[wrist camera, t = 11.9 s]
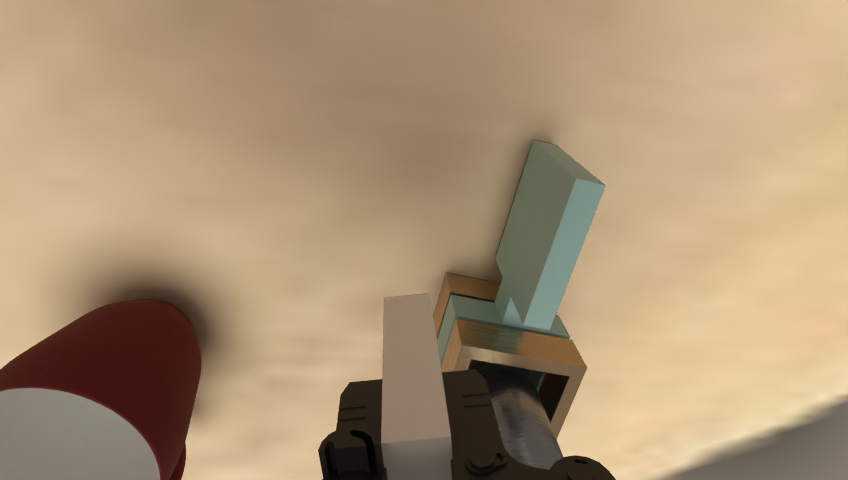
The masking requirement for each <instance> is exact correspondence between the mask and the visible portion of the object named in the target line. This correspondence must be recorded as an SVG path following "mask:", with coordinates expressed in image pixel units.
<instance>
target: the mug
mask: <svg viewBox="0 0 848 480" xmlns="http://www.w3.org/2000/svg"><path fill="white" fill-rule="evenodd" d="M200 374H201V354H200V349H199V345H198V341H197V338H196V335H195V333H194V330H193V327H192V325H191V323H190V321H189V319H188V318H187V317H186V315H185V314H184V313H183V312H182V311H180V310H179V309H178V308H176V307H175V306H173V305H171V304H169V303H166V302H163V301H159V300H153V299H145V300H132V301H124V302H118V303H113V304H109V305H105V306H103V307H100V308H97V309H95V310H93V311H91V312H89V313H87V314H85V315H83V316H82V317H80V318H79V319H77V320H75V321H74V322H72V323H70V324H69V325H67V326H65V327H64V328H62V329H61V330H59V331H57V332H56V333H54V334H52V335H51V336H49V337H47V338H46V339H44V340H43V341H41V342H39V343H38V344H36V345H34V346H33V347H31V348H30V349H28V350H27V351H25V352H23V353H22V354H20V355H19V356H17V357H16V358H14V359H13V360H12V361H10V362H9V363H8V364H7V365H5V366H4V367H3V368H2V369H0V480H181V478H182V475H183V472H184V467H185V460H186V444H185V440H186V437H187V433H188V428H189V424H190V419H191V415H192V410H193V406H194V402H195V397H196V393H197V388H198V384H199V379H200Z"/></svg>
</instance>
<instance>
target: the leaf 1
mask: <svg viewBox="0 0 848 480" xmlns="http://www.w3.org/2000/svg"><path fill="white" fill-rule="evenodd" d="M604 188H605V185H604V184H603V183H602V182H601V181H600V180H598V179H597V178H596V177H595V176H593V175H592V174H591V173H590V172H588V171H587V170H586V169H585V168H584V167H582V166H581V165H580V164H579V163H577V162H576V161H575V160H574V159H573V158H571V157H570V156H569V155H568V154H566V153H565V152H564V151H563V150H562V149H560V148H559V147H558V146H557V145H553V144H549V143H545V142H541V141H536V140H533V143H532V146H531V149H530V152H529V156H528V159H527V162H526V165H525V168H524V171H523V174H522V177H521V180H520V183H519V186H518V189H517V193H516V196H515V199H514V202H513V205H512V208H511V211H510V214H509V217H508V220H507V223H506V226H505V230H504V233H503V236H502V239H501V242H500V245H499V248H498V251H497V254H496V257H495V260H496V262H497V265H498V267H499V269H500V272H501V274H502V276H503V278H502V281H501V284H500V287H499V290H498V293H497V296H496V299H495V302H494V303H492V302H486V301H481V300H476V299H471V298H466V297H461V296H455V295H451V296H450V299H449V302H448V306H447V309H446V312H445V316H444V319H443V322H442V326H441V329H440V332H439V336H438V339H437V344H438V351H439V358H440V365H442V362H443V358H444V355H445V352H446V349H447V345H448V342H449V339H450V336H451V332H452V329H453V326H454V323H455V320H456V319H462V320H467V321H472V322H478V323H483V324H489V325H494V326H499V327H505V328H510V329H515V330H521V331H526V332H531V333H537V334H542V335H548V336H553V337H558V338H564V339H569V338H570V336H569V334H568V332H567V330H566V328H565V326H564V325H563V323H562V321H561V319H560V317H559V316H558V315H556V312H557V310H558V307H559V304H560V302H561V299H562V297H563V294H564V291H565V289H566V286H567V284H568V281H569V278H570V276H571V273H572V271H573V268H574V265H575V263H576V260H577V258H578V255H579V253H580V250H581V247H582V245H583V242H584V240H585V237H586V234H587V232H588V229H589V227H590V224H591V221H592V219H593V216H594V214H595V211H596V208H597V206H598V203H599V201H600V198H601V196H602V193H603V190H604ZM529 371H530V374H531V376H532V379H533V381H534V384H535V386H536V389H537V391H538V393H539V390H540V388H541V385H542V383H543V380H544V378H545V375H546V373H547V372H542V371H536V370H531V369H529Z"/></svg>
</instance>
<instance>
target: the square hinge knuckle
mask: <svg viewBox="0 0 848 480" xmlns="http://www.w3.org/2000/svg"><path fill="white" fill-rule="evenodd" d="M500 284H501V283H496V282H491V281H486V280H481V279H476V278H471V277H466V276H461V275H456V274H451V273H446V275H445V278H444V282H443V285H442V288H441V292H440V295H439V299H438V302H437V306H436V309H435V313H434V316H433V317H434V324H435V331H436V338H437V339H438V336H439V332H440V329H441V326H442V322H443V319H444V316H445V312H446V309H447V306H448V302H449V299H450V296H451V295H455V296H461V297H466V298H471V299H476V300H481V301H486V302H492V303H494V302H495V299H496V296H497V293H498V290H499V287H500ZM556 313H557V312H556ZM471 359H474V360H479V361H485V362H491V363H496V364H502V365H508V366H513V367H519V368H525V369H531V370H536V371H542V372H547V373H546V375H545V378H544V380H543V383H542V385H541V388H540V390H539V393H538V394H539V397H540V399H541V402H542V404H543V407H544V409H545V412H546V414H547V417H548V419H549V422H550V425H551V427H552V430H553V432H554V435H555V437H556V439H557V437H558V435H559V432H560V430H561V428H562V425H563V423H564V421H565V418H566V416H567V414H568V411H569V409H570V407H571V404H572V402H573V400H574V397H575V395H576V393H577V390H578V388H579V386H580V383H581V381H582V379H583V376H584V374H585V372H586V369H587V366H586V365H585V363H584V361H583V359H582V357H581V356H580V354H579V352H578V350H577V348H576V346H575V345H574V343H573V341H572V340H569V339H564V338H558V337H553V336H548V335H542V334H537V333H531V332H526V331H521V330H515V329H510V328H505V327H499V326H494V325H489V324H483V323H478V322H472V321H467V320H462V319H456V320H455V323H454V326H453V329H452V332H451V336H450V339H449V342H448V345H447V349H446V352H445V355H444V358H443V362H442V365H441V372H451V371H461V370H468V367H469V364H470V361H471Z"/></svg>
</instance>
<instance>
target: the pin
mask: <svg viewBox="0 0 848 480" xmlns="http://www.w3.org/2000/svg"><path fill="white" fill-rule="evenodd" d="M472 369H476V370H477V371H478V372H479V373H480V374H481V375H482V376H483V377H484V378H485V379H486V382H487V386H488V389H489V394H490V397H491V401H492V406H493V408H494V412H495V416H496V420H497V423H498V427H499V431H500V435H501V438H502V442H503V445H504V447H505V450H506V451H507V452H508V453H509V455H510V456H511V457H513V458H514V459H515V460H517V461H518V462H520V463H523V464H525V465H528V466H532V467H536V468H542V469H548V470H550V468H551V467H552V465H553V464H554V463H555V462H556V461H558V460H560V459H561V458H563V455H562V453H561V450H560V448H559V445H558V442H557V440H556V437H555V435H554V432H553V430H552V427H551V425H550V422H549V419H548V417H547V414H546V412H545V409H544V407H543V404H542V402H541V399H540V397H539V394H538V391H537V389H536V386H535V384H534V381H533V379H532V376H531V374H530V371H529V369H525V368H519V367H513V366H508V365H502V364H496V363H491V362H485V361H479V360H474V359H471V361H470V364H469V367H468V370H472Z"/></svg>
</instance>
